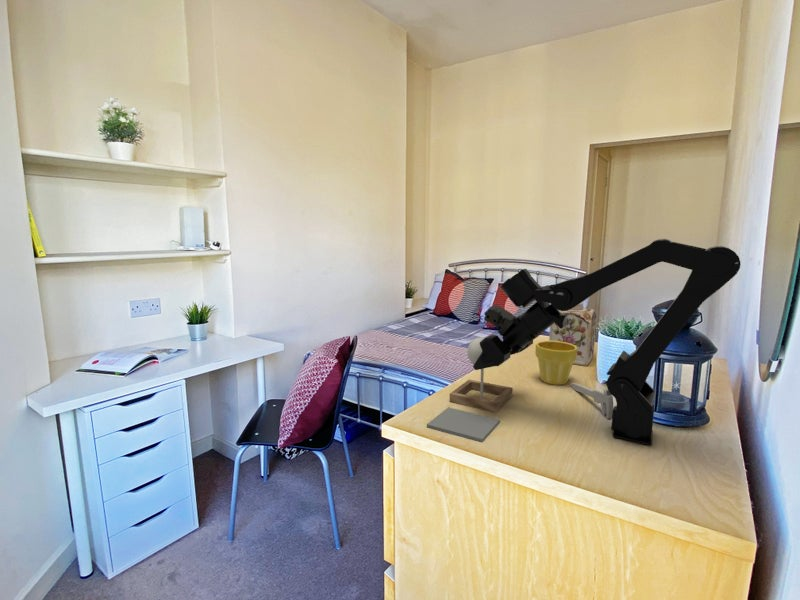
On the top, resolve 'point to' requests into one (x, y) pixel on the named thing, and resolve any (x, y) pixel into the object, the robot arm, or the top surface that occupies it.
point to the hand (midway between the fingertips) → (483, 363)
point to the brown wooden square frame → (494, 406)
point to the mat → (464, 424)
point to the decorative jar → (577, 332)
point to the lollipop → (473, 355)
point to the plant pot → (555, 360)
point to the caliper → (598, 398)
